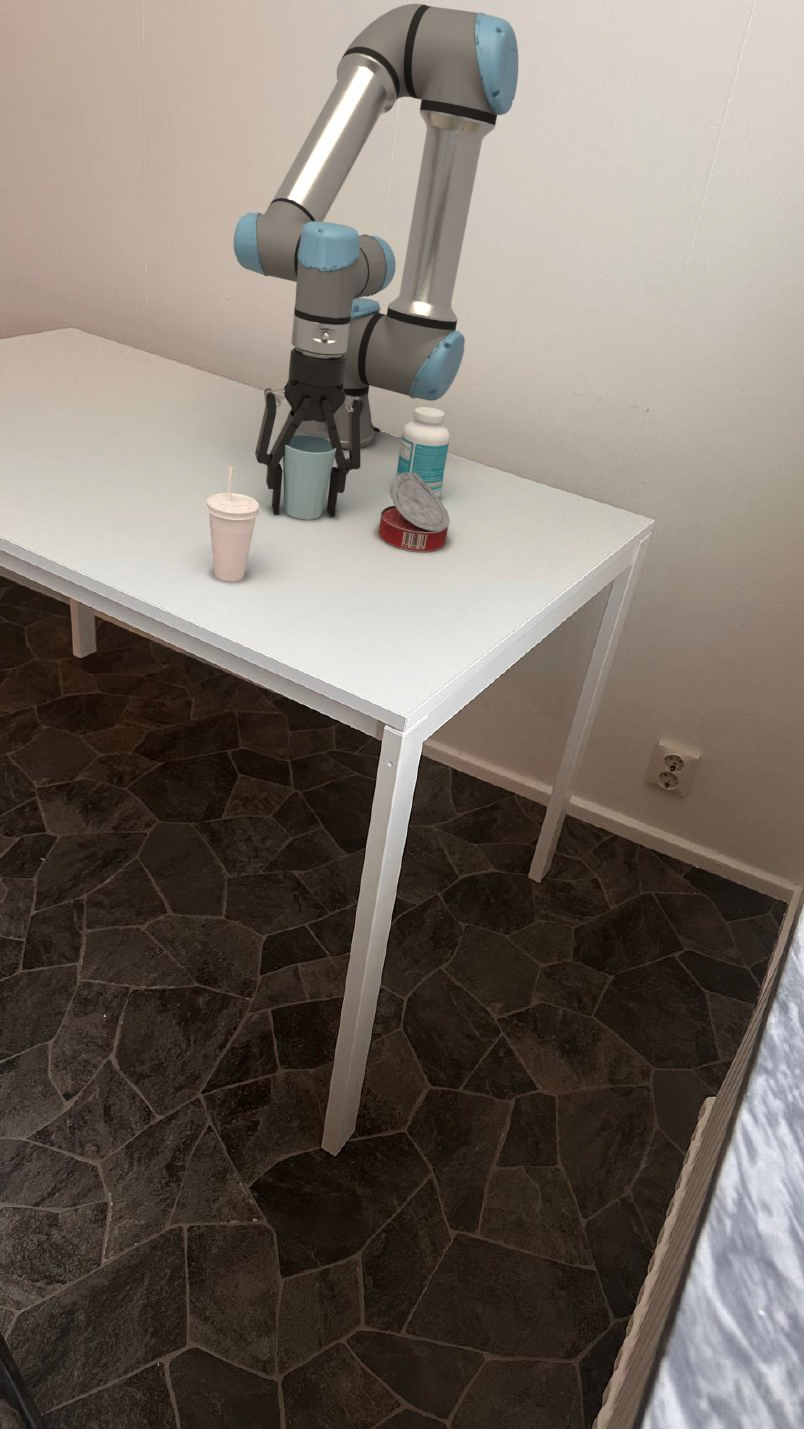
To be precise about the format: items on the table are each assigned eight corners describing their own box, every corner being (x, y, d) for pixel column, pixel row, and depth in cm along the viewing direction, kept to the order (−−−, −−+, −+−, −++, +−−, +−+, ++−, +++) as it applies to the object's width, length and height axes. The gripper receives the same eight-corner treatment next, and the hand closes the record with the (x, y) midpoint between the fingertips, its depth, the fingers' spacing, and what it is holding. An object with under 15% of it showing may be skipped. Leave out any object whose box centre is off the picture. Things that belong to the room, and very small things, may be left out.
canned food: (418, 554, 150) (456, 499, 147) (435, 577, 141) (475, 519, 139) (357, 517, 145) (395, 459, 142) (371, 538, 136) (411, 476, 134)
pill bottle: (446, 495, 160) (461, 412, 153) (428, 508, 154) (443, 422, 147) (405, 483, 162) (417, 400, 155) (385, 494, 156) (398, 409, 149)
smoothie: (205, 561, 127) (210, 455, 119) (255, 566, 128) (263, 461, 120) (201, 583, 121) (205, 474, 114) (253, 588, 122) (261, 480, 115)
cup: (336, 522, 144) (344, 452, 138) (286, 524, 141) (292, 452, 135) (319, 502, 150) (325, 434, 144) (270, 503, 146) (275, 434, 141)
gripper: (245, 351, 127) (235, 518, 139) (398, 365, 133) (375, 524, 145) (239, 336, 133) (230, 497, 145) (386, 351, 139) (365, 505, 151)
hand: (303, 511), depth 145 cm, fingers open, 7 cm apart
